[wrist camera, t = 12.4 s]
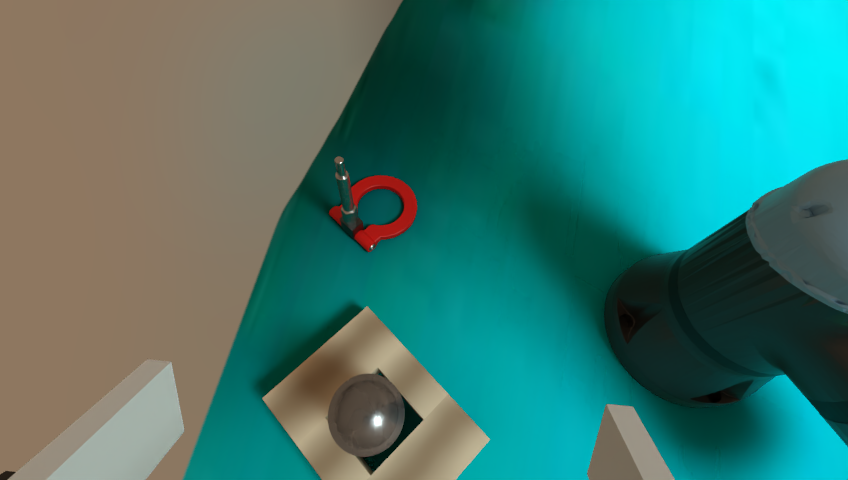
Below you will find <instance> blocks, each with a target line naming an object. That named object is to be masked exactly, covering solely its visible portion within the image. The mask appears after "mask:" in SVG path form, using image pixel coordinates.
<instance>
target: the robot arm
mask: <svg viewBox="0 0 848 480" xmlns="http://www.w3.org/2000/svg"><path fill="white" fill-rule="evenodd" d="M604 317H605V326H606V331H607V335H608V338H609V341H610V343H611V346H612V348H613V350H614V352H615V354H616V356H617V357H618V359H619V360H620V362H621V363H622V365H623V366H624V367H625V369H626V370H627V371H628V372H629V373H630V374H631V375H632V377H633V378H634V379H636V380H637V381H638V382H639V383H640V384H641V385H642V386H644V387H645V388H646V389H648V390H649V391H651V392H652V393H654V394H655V395H657V396H659V397H661V398H663V399H665V400H667V401H670V402H672V403H675V404H679V405H683V406H688V407H697V408H703V407H716V406H724V405H729V404H733V403H736V402H738V401H741V400H743V399H745V398H747V397H748V396H750V395H751V394H753V393H754V392H755V391H757V390H758V389H759V388H761V387H762V386H763V385H765V384H766V383H767V382H769V381H770V380H771V379H773V378H774V377H775V376H778V375H785V374H786V375H787V377H788V378H789V379H790V380H791V381H792V382H793V383H794V385H795V386H796V387H797V388H798V389H799V390H800V391H801V393H802V394H803V395H804V396H805V397H806V398H807V399H808V400H809V402H810V403H811V404H812V405H813V406H814V407H815V408H816V410H817V411H818V412H819V414H820V415H821V416H822V417H823V418H824V419H825V421H826V422H827V423H828V424H829V425H830V426H831V428H832V429H833V430H834V431H835V432H836V434H837V435H838V436H839V437H840V438H841V439H842V441H843V442H844V443H845V444H846V445H847V446H848V159H847V160H841V161H836V162H833V163H829V164H825V165H823V166H820V167H818V168H815V169H813V170H811V171H809V172H807V173H806V174H804V175H802V176H800V177H799V178H797V179H795V180H794V181H792V182H790V183H789V184H787V185H785V186H784V187H780V188H777V189H775V190H772V191H770V192H768V193H766V194H765V195H763V196H762V197H760V198H759V199H758V200H757V201H755V202H754V203H753V205H752V207H751V208H750V209H749V210H748V211H746V212H745V213H743V214H742V215H740V216H739V217H737V218H736V219H734V220H732V221H731V222H729V223H728V224H726V225H725V226H723V227H722V228H720V229H719V230H717V231H716V232H714V233H712V234H711V235H709V236H708V237H706V238H705V239H703V240H702V241H700V242H699V243H697V244H696V245H694V246H693V247H691V248H690V249H688V250H682V251H676V252H670V253H665V254H659V255H654V256H650V257H648V258H645V259H643V260H641V261H639V262H637V263H635V264H634V265H632V266H631V267H630V268H628V269H627V270H626V271H624V272H623V273H622V274H621V275H620V276H619V277H618V278H617V279H616V280H615V281H614V283H613V284H612V286H611V288H610V290H609V292H608V295H607V298H606V302H605V312H604ZM183 432H184V426H183V421H182V415H181V410H180V405H179V400H178V395H177V389H176V384H175V379H174V374H173V368H172V363H171V362H170V361H159V360H150V359H147V360H146V361H145V362H143V363H142V364H141V365H140V366H139V367H138V368H137V369H135V370H134V371H133V372H132V373H131V374H129V375H128V376H127V377H126V378H125V379H124V380H123V381H121V382H120V383H119V384H118V385H117V386H116V387H114V388H113V389H112V390H111V391H110V392H109V393H108V394H106V395H105V396H104V397H103V398H102V399H100V400H99V401H98V402H97V403H96V404H95V405H93V406H92V407H91V408H90V409H89V410H88V411H87V412H85V413H84V414H83V415H82V416H81V417H80V418H78V419H77V420H76V421H75V422H74V423H73V424H72V425H70V426H69V427H68V428H67V429H66V430H64V431H63V432H62V433H61V434H60V435H59V436H58V437H57V438H55V439H54V440H53V441H52V442H51V443H49V444H48V445H47V446H46V447H45V448H44V449H43V450H41V451H40V452H39V453H38V454H37V455H35V456H34V457H33V458H32V459H31V460H30V461H28V462H27V463H26V464H25V465H24V466H23V467H22V468H21V469H19V470H18V471H17V472H9V471H5V472H4V473H2V474H1V475H0V480H145V479H146V478H147V477H148V476H149V474H150V473H151V472H152V471H153V470H154V468H155V467H156V466H157V465H158V463H159V462H160V461H161V460H162V458H163V457H164V456H165V455H166V453H167V452H168V451H169V450H170V448H171V447H172V446H173V444H174V443H175V442H176V441H177V440H178V438H179V437H180V436H181V435H182V433H183ZM587 474H588V477H589V480H675V479H674V477H673V476H672V474H671V472H670V470H669V469H668V467H667V465H666V463H665V462H664V460H663V458H662V457H661V455H660V453H659V451H658V450H657V448H656V446H655V444H654V443H653V441H652V439H651V437H650V436H649V434H648V432H647V430H646V429H645V427H644V425H643V423H642V422H641V420H640V418H639V416H638V415H637V413H636V411H635V409H634V408H633V407H631V406H621V405H611V404H606V407H605V410H604V414H603V418H602V421H601V425H600V429H599V432H598V436H597V440H596V443H595V447H594V451H593V454H592V458H591V462H590V465H589V469H588V473H587Z"/></svg>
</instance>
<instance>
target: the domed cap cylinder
mask: <svg viewBox="0 0 848 480" xmlns="http://www.w3.org/2000/svg"><path fill="white" fill-rule="evenodd" d="M404 417H405V409H404V403H403V400H402V397H401V395H400V393H399V391H398V389H397V388H396V387H395V385H394V384H393V383H392V382H390V381H389V380H388V379H386V378H384V377H382V376H380V375H376V374H360V375H357V376H354V377H352V378H350V379H349V380H347V381H346V382H344V383H343V384H342V385H341V386H340V387H339V388H338V389H337V391H336V392H335V394H334V396H333V397H332V400H331V402H330V405H329V410H328V425H329V430H330V433H331V435H332V437H333V439H334V441H335V442H336V444H337V445H338V446H339V447H340V448H341V449H343V450H344V451H346V452H347V453H349V454H352V455H355V456H360V457H368V456H373V455H376V454H379V453H381V452H383V451H384V450H386V449H387V448H389V447H390V446H391V445H392V444H393V443H394V441H395V440H396V439H397V437H398V436H399V434H400V432H401V430H402V427H403V423H404Z"/></svg>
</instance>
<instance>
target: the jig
mask: <svg viewBox="0 0 848 480" xmlns="http://www.w3.org/2000/svg"><path fill="white" fill-rule="evenodd" d="M380 372H381V373H382V374H383V375H384V377H385V378H386V379H388V380H389V381H390V382H392V383H393V384H394V385H395V387H396V388H397V389H398V391H399V393H400V395H401V396H402V397H403V398H404V399H405V401H406V402H407V403H408V404H409V405H410V406H411V407H412V409H413V410H414V411H415V412H416V413H417V414H418V415H419V417H420V418H421V419H422V420H423V421H422V422H421V423H420V424H419V425H418V426H417V427H416V428H415V429H414V431H413V432H412V433H411V434H410V435H409V436H408V437H407V438H406V439H405V440H404V441H403V442H402V443H401V444H400V445H399V446H398V447H397V448H396V449H395V451H394V452H393V453H392V454H391V455H390V456H389V457H388V458H387V459H386V460H385V461H384V462H383V463H382V464H381V465H380V466H379V467H378V468H377V469H376V471H375V472H373V471H372V469H371V468H370V467H369V465H368V464H367V463H366V462H365V460H364V459H363V458H362V457H360V456H355V455H352V454H349V453H347V452H346V451H344V450H343V449H341V448H340V447H339V446H338V445H337V444H336V442H335V441H334V439H333V437H332V435H331V433H330V430H329V425H328V410H329V405H330V402H331V400H332V397H333V396H334V394H335V392H336V391H337V389H338V388H339V387H340V386H341V385H342V384H343V383H344V382H346V381H347V380H349V379H350V378H352V377H354V376H357V375H360V374H376V375H378V374H379V373H380ZM262 399H263V400H264V402H265V403H266V404H267V406H268V407H269V409H270V410H271V411H272V413H273V414H274V415H275V417H276V418H277V419H278V421H279V422H280V423H281V425H282V426H283V427H284V429H285V430H286V432H287V433H288V434H289V436H290V437H291V438H292V440H293V441H294V442H295V444H296V445H297V446H298V448H299V449H300V450H301V452H302V453H303V455H304V456H305V457H306V459H307V460H308V461H309V463H310V464H311V465H312V467H313V468H314V469H315V471H316V472H317V473H318V475H319V476H320V478H321V479H322V480H456V478H457V477H458V476H459V475H460V474H461V473H462V471H463V470H464V469H465V468H466V467H467V466H468V465H469V463H470V462H471V461H472V460H473V459H474V458H475V456H476V455H477V454H478V453H479V452H480V451H481V449H482V448H483V447H484V446H485V445H486V444H487V442H488V441H489V440H490V439H489V438H488V437H487V435H486V434H485V433H484V432H483V431H482V430H481V429H480V428H479V427H478V426H477V425H476V424H475V422H474V421H473V420H472V419H471V418H470V417H469V416H468V415H467V414H466V413H465V412H464V411H463V409H462V408H461V407H460V406H459V405H458V404H457V403H456V402H455V401H454V400H453V399H452V398H451V396H450V395H449V394H448V393H447V392H446V391H445V390H444V389H443V388H442V387H441V386H440V385H439V383H438V382H437V381H436V380H435V379H434V378H433V377H432V376H431V375H430V374H429V373H428V372H427V370H426V369H425V368H424V367H423V366H422V365H421V364H420V363H419V362H418V361H417V360H416V359H415V357H414V356H413V355H412V354H411V353H410V352H409V351H408V350H407V349H406V348H405V347H404V346H403V344H402V343H401V342H400V341H399V340H398V339H397V338H396V337H395V336H394V335H393V334H392V333H391V331H390V330H389V329H388V328H387V327H386V326H385V325H384V324H383V323H382V322H381V321H380V320H379V318H378V317H377V316H376V315H375V314H374V313H373V312H372V311H371V310H370V309H369V308H368V307H366V308H365V309H364V310H362V311H361V312H360V313H359V314H358V315H357V316H356V317H354V318H353V319H352V320H351V321H350V322H349V323H348V324H346V325H345V326H344V327H343V328H342V329H341V330H340V331H338V332H337V333H336V334H335V335H334V336H333V337H332V338H330V339H329V340H328V341H327V342H326V343H325V344H324V345H322V346H321V347H320V348H319V349H318V350H317V351H316V352H314V353H313V354H312V355H311V356H310V357H309V358H308V359H306V360H305V361H304V362H303V363H302V364H301V365H300V366H298V367H297V368H296V369H295V370H294V371H293V372H292V373H290V374H289V375H288V376H287V377H286V378H285V379H284V380H283V381H281V382H280V383H279V384H278V385H277V386H276V387H275V388H273V389H272V390H271V391H270V392H269V393H268V394H267V395H265V396H264V397H263V398H262Z"/></svg>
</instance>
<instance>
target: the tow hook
mask: <svg viewBox="0 0 848 480" xmlns="http://www.w3.org/2000/svg"><path fill="white" fill-rule="evenodd" d="M335 165H336V169H337V172H336V174H335V175H336V180H337V185H338V189H339V194H340V198H341V202H342V205H340V206H339V207H338V206H335V207H333V208H332V209H331V210H330V212H329V215H330V216H331V217H332V218H333V219H334V220H335V221H336V222H337V223H339V224H340V225H341V226H342V229H343V230H345V231H346V232H347V233H348V234H349V235H350V236H351V237H352V238H353V239H354V240H356V241H357V242H358V243H359V244H360V245H361V246H362V247H363V248H364V249H365V250H367V251H368V252H371V251H372V250H373V249H374V248H375V247H376V245H377V243H378V242H379V241H380V240H383V239H390V238H394V237H396V236H398V235H400V234H402V233H404V232H405V231H406V230H407V229H408V228H409V227H410V226H411V225H412V223H413V221H414V220H415V216H416V212H417V200H416V198H415V195H414V193H413V191H412V190H411V189H410V187H409V186H408V185H406V184H405V183H404V182H403V181H401V180H399V179H396V178H394V177H390V176H372V177H368V178H365V179H363V180H361V181H359V182H358V183H356V184H355V185H354V186H353V187H352V188H351V185H350V179H349V173H348V172H347V171H346V170H345V164H344V159H343V158H342V157H336V158H335ZM374 189H388V190H391V191H393V192H395V193H396V194H398V195H399V196H400V198H401V199H402V201H403V204H404V210H403V213H402V214H401V216H400V217H399V218H398V219H397V220H396V221H395V222H393V223H391V224H387V225H370V226H369V227H367V228H366V229H365V230H364V227H363V221H362V220H360V219H359V217H358V210H357V209H358V203H359V200H360V199H361V197H362V196H363V195H364V194H366V193H367V192H369V191H371V190H374Z"/></svg>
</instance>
